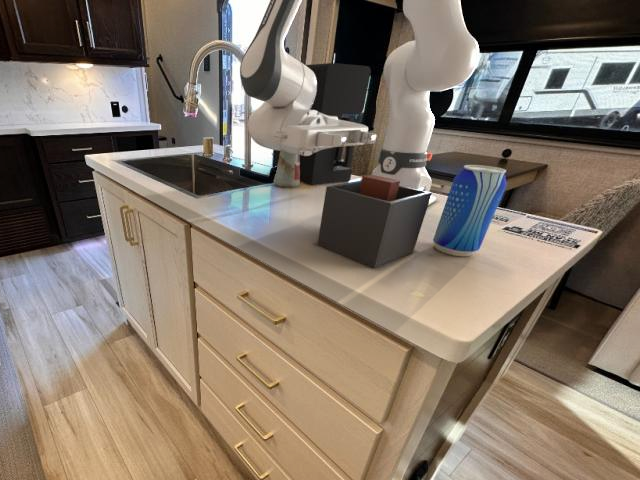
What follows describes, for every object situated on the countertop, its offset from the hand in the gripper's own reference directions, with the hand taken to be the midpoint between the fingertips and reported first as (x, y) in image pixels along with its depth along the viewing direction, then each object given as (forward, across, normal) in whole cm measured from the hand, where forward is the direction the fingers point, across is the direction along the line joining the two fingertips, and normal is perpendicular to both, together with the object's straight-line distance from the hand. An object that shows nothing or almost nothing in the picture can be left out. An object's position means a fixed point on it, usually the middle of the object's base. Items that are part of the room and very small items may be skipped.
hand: (359, 140), depth 63 cm
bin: (+6, 0, +20) cm, 20 cm away
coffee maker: (-47, +43, +20) cm, 67 cm away
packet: (+6, 0, +19) cm, 20 cm away
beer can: (+17, +15, +20) cm, 30 cm away
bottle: (-43, +25, +20) cm, 53 cm away
